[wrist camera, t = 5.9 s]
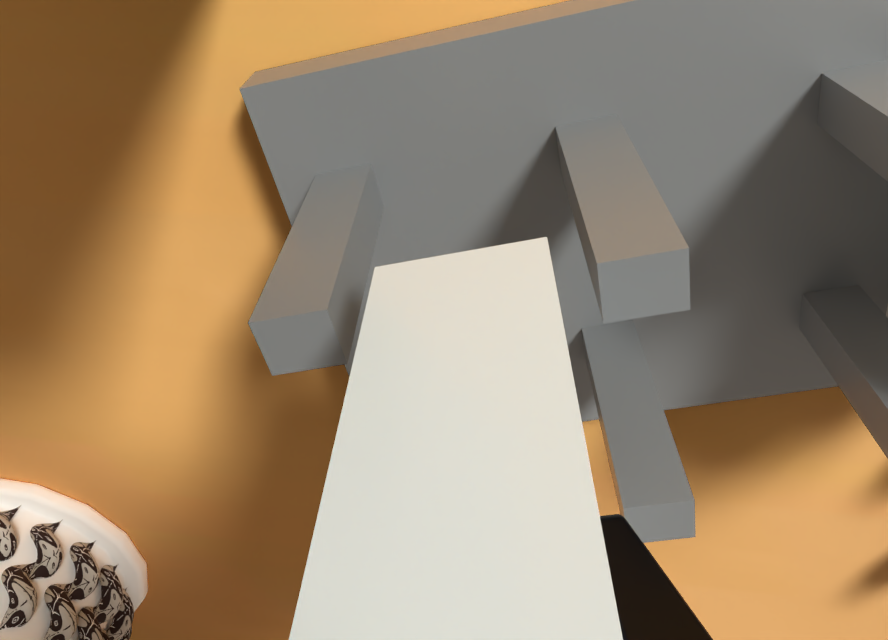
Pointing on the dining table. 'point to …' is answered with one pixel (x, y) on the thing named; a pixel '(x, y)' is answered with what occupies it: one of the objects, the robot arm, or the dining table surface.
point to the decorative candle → (64, 569)
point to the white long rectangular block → (460, 466)
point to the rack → (609, 201)
